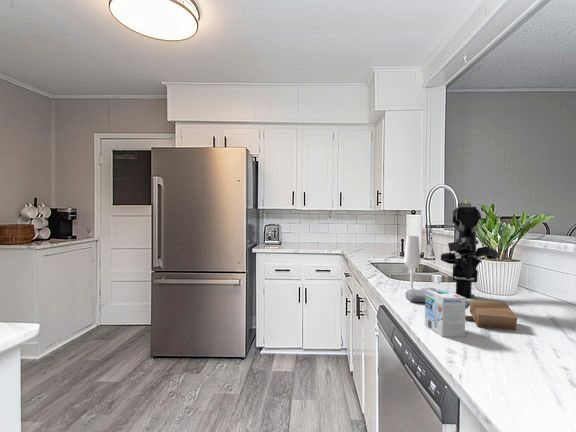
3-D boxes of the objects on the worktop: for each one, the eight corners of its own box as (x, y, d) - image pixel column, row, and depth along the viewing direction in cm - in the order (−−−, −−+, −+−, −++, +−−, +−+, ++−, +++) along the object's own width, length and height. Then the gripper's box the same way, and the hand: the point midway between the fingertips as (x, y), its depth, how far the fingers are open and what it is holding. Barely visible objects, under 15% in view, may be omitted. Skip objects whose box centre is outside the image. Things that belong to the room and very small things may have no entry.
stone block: (444, 307, 129) (435, 296, 139) (444, 295, 128) (435, 285, 138) (410, 308, 130) (404, 297, 140) (410, 296, 129) (404, 286, 139)
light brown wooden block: (470, 299, 112) (478, 314, 103) (505, 302, 110) (517, 317, 100) (469, 311, 113) (477, 326, 104) (504, 314, 111) (515, 330, 101)
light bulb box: (423, 324, 105) (424, 289, 105) (445, 324, 106) (445, 289, 106) (442, 337, 94) (443, 297, 94) (466, 337, 95) (466, 297, 95)
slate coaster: (443, 299, 137) (443, 298, 137) (469, 303, 131) (469, 302, 131) (437, 304, 130) (437, 302, 130) (464, 308, 124) (464, 306, 124)
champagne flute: (417, 294, 145) (418, 236, 144) (401, 292, 148) (402, 236, 148) (421, 292, 150) (422, 236, 150) (405, 289, 154) (406, 235, 154)
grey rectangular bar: (464, 319, 111) (464, 315, 111) (514, 323, 108) (514, 319, 108) (465, 320, 110) (465, 316, 110) (516, 324, 106) (516, 320, 106)
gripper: (431, 235, 135) (430, 275, 129) (478, 225, 119) (479, 270, 114) (450, 244, 139) (450, 282, 134) (497, 235, 124) (499, 278, 118)
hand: (468, 278), depth 125 cm, fingers closed
